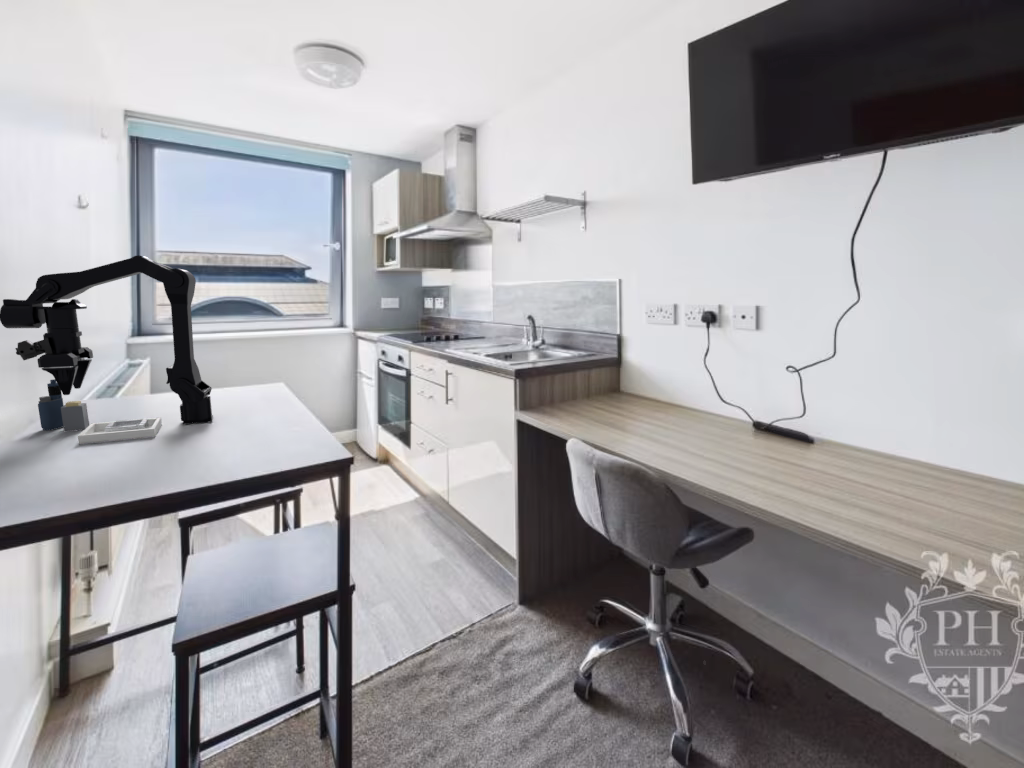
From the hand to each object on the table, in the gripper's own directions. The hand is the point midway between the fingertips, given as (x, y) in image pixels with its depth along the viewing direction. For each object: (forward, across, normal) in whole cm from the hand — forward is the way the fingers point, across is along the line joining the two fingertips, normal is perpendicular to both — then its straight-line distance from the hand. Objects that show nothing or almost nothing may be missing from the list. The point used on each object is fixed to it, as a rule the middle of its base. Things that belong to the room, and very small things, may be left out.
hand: (72, 391), depth 121 cm
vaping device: (+10, -3, -5) cm, 11 cm away
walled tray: (+9, +11, +11) cm, 18 cm away
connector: (+10, 0, 0) cm, 10 cm away
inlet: (+9, +11, +12) cm, 19 cm away
